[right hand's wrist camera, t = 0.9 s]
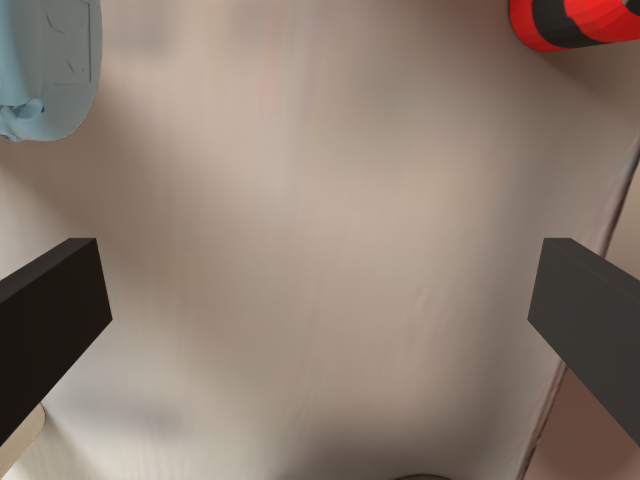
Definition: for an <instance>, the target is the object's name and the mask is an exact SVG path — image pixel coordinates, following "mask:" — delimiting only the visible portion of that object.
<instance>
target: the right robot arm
mask: <svg viewBox="0 0 640 480" xmlns="http://www.w3.org/2000/svg"><path fill="white" fill-rule="evenodd" d="M112 320H113V319H112V314H111V309H110V305H109V300H108V295H107V290H106V285H105V280H104V275H103V270H102V266H101V261H100V256H99V251H98V246H97V241H96V238H69V239H67V240H66V241H64V242H62V243H61V244H59V245H58V246H56V247H54V248H53V249H51V250H49V251H48V252H46V253H45V254H43V255H41V256H40V257H38V258H36V259H35V260H33V261H32V262H30V263H28V264H27V265H25V266H23V267H22V268H20V269H19V270H17V271H15V272H14V273H12V274H11V275H9V276H7V277H6V278H4V279H2V280H1V281H0V447H1V446H2V445H3V444H4V443H5V442H6V440H7V439H8V438H9V437H10V436H11V435H12V434H13V432H14V431H15V430H16V429H17V428H18V427H19V426H20V424H21V423H22V422H23V421H24V420H25V419H26V418H27V416H28V415H29V414H30V413H31V412H32V411H33V410H34V409H35V407H36V406H37V405H38V404H39V403H40V402H41V401H42V399H43V398H44V397H45V396H46V395H47V394H48V393H49V391H50V390H51V389H52V388H53V387H54V386H55V385H56V383H57V382H58V381H59V380H60V379H61V378H62V377H63V376H64V374H65V373H66V372H67V371H68V370H69V369H70V368H71V366H72V365H73V364H74V363H75V362H76V361H77V360H78V358H79V357H80V356H81V355H82V354H83V353H84V352H85V350H86V349H87V348H88V347H89V346H90V345H91V344H92V343H93V341H94V340H95V339H96V338H97V337H98V336H99V335H100V333H101V332H102V331H103V330H104V329H105V328H106V327H107V325H108V324H109V323H110V322H111V321H112ZM527 320H528V321H529V322H530V323H531V324H532V325H533V327H534V328H535V329H536V330H537V331H538V332H539V333H540V335H541V336H542V337H543V338H544V339H545V340H546V341H547V343H548V344H549V345H550V346H551V347H552V348H553V349H554V350H555V352H556V353H557V354H558V355H559V356H560V357H561V358H562V360H563V361H564V362H565V363H566V364H567V365H568V366H569V368H570V369H571V370H572V371H573V372H574V373H575V374H576V376H577V377H578V378H579V379H580V380H581V381H582V382H583V383H584V385H585V386H586V387H587V388H588V389H589V390H590V391H591V393H592V394H593V395H594V396H595V397H596V398H597V399H598V401H599V402H600V403H601V404H602V405H603V406H604V407H605V409H606V410H607V411H608V412H609V413H610V414H611V415H612V416H613V418H614V419H615V420H616V421H617V422H618V423H619V424H620V426H621V427H622V428H623V429H624V430H625V431H626V432H627V434H628V435H629V436H630V437H631V438H632V439H633V440H634V441H635V443H636V444H637V445H638V446H639V447H640V281H639V280H638V279H636V278H634V277H633V276H631V275H629V274H628V273H626V272H625V271H623V270H621V269H620V268H618V267H617V266H615V265H613V264H612V263H610V262H608V261H607V260H605V259H604V258H602V257H600V256H599V255H597V254H595V253H594V252H592V251H591V250H589V249H587V248H586V247H584V246H582V245H581V244H579V243H578V242H576V241H574V240H573V239H571V238H544V241H543V246H542V251H541V256H540V261H539V266H538V270H537V275H536V280H535V285H534V290H533V295H532V300H531V305H530V309H529V314H528V319H527ZM399 480H448V479H445V478H441V477H436V476H411V477H406V478H402V479H399Z"/></svg>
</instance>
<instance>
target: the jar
mask: <svg viewBox="0 0 640 480" xmlns="http://www.w3.org/2000/svg"><path fill="white" fill-rule="evenodd" d="M44 423H45V412H44V409H43V407H42V405H41V404H40V403H39V404H38V405H37V406H36V407H35V409H34V410H33V411H32V412H31V413H30V414H29V415H28V416H27V418H26V419H25V420H24V421H23V422H22V423H21V424H20V426H19V427H18V428H17V429H16V430H15V431H14V432H13V434H12V435H11V436H10V437H9V438H8V439H7V440H6V442H5V443H4V444H3V445H2V446H1V447H0V480H1V479H2V478H3V476H4V475H5V474H6V473H7V471H8V470H9V469H10V468H11V467H12V465H13V464H14V463H15V462H16V460H17V459H18V458H19V457H20V455H21V454H22V453H23V452H24V450H25V449H26V448H27V447H28V445H29V444H30V443H31V442H32V440H33V439H34V438H35V437H36V435H37V434H38V433H39V432H40V431H41V429H42V428H43V426H44Z"/></svg>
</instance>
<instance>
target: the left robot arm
mask: <svg viewBox="0 0 640 480" xmlns="http://www.w3.org/2000/svg"><path fill="white" fill-rule="evenodd" d="M101 59H102V17H101V7H100V0H0V135H2V136H4V137H5V138H7V139H10V140H11V141H15V142H22V141H25V140H37V141H55V140H60V139H62V138H64V137H66V136H68V135H70V134H72V133H73V132H74V131H75V130H76V129H77V128H78V127H79V126H80V125H81V124H82V122H83V121H84V120H85V118H86V116H87V114H88V113H89V110H90V108H91V106H92V103H93V100H94V96H95V93H96V90H97V86H98V82H99V76H100V68H101Z"/></svg>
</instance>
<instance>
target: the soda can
mask: <svg viewBox="0 0 640 480" xmlns="http://www.w3.org/2000/svg"><path fill="white" fill-rule="evenodd" d="M510 19H511V23H512V26H513V29H514V31H515V33H516V35H517V36H518V38H519V39H520V40H521V41H522V42H523V43H524V44H525V45H527V46H529V47H530V48H532V49H535V50H538V51H546V52H550V51H558V50H565V49H572V48H579V47H586V46H594V45H601V44H608V43H615V42H622V41H629V40H637V39H640V0H510Z"/></svg>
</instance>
